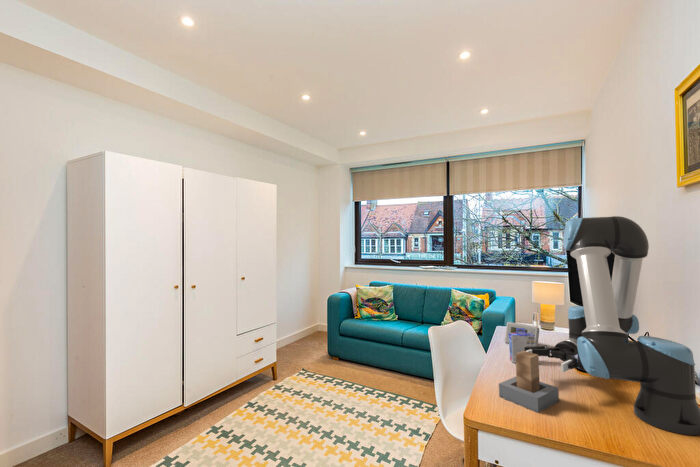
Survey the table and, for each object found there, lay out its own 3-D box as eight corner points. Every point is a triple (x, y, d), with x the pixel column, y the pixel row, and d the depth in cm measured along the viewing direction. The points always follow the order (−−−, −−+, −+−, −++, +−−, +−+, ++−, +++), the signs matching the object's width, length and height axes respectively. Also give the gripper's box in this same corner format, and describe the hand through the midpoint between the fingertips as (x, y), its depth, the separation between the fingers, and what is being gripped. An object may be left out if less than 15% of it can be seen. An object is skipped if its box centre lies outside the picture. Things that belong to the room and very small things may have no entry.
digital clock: (502, 342, 171) (502, 322, 171) (513, 340, 175) (513, 320, 176) (532, 351, 157) (531, 329, 157) (543, 348, 161) (542, 326, 161)
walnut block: (540, 396, 108) (538, 354, 109) (531, 401, 106) (530, 357, 106) (525, 391, 113) (523, 350, 113) (517, 395, 110) (515, 353, 110)
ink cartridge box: (532, 360, 145) (531, 327, 145) (537, 364, 140) (535, 330, 140) (508, 359, 147) (507, 326, 147) (512, 363, 141) (511, 330, 142)
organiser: (558, 401, 107) (558, 387, 107) (538, 413, 100) (537, 398, 100) (520, 387, 118) (519, 374, 118) (499, 396, 111) (498, 383, 111)
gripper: (608, 370, 115) (581, 385, 104) (536, 351, 136) (507, 362, 125) (607, 349, 116) (580, 361, 104) (536, 333, 136) (507, 342, 125)
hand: (541, 362), depth 114 cm, fingers open, 13 cm apart
